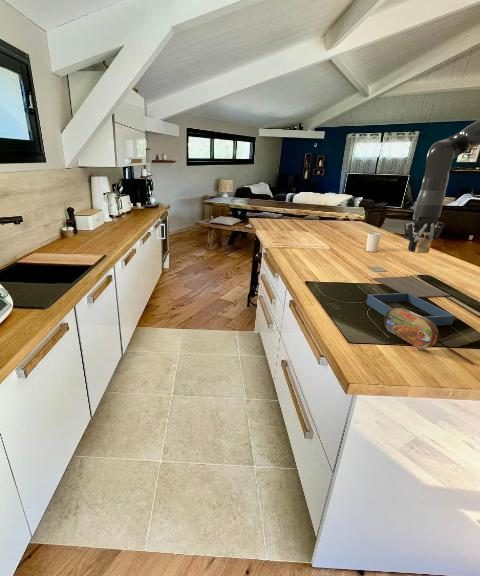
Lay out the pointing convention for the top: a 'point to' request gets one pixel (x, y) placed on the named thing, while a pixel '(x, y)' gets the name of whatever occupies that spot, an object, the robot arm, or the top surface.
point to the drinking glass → (373, 242)
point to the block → (422, 245)
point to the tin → (411, 327)
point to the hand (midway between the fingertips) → (418, 250)
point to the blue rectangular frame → (438, 314)
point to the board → (411, 287)
